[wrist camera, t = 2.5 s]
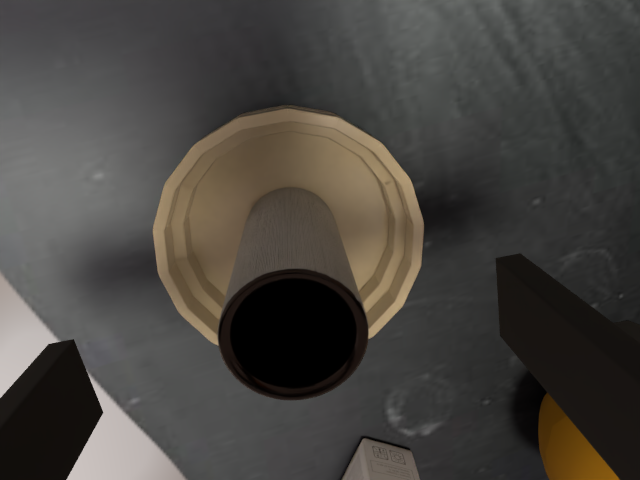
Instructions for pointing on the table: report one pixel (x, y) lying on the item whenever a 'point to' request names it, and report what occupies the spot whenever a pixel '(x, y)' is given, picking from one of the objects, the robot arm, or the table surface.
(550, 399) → the apple
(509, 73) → the table surface
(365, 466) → the ink box
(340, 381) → the grey hollow cylinder
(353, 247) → the shallow round dish
